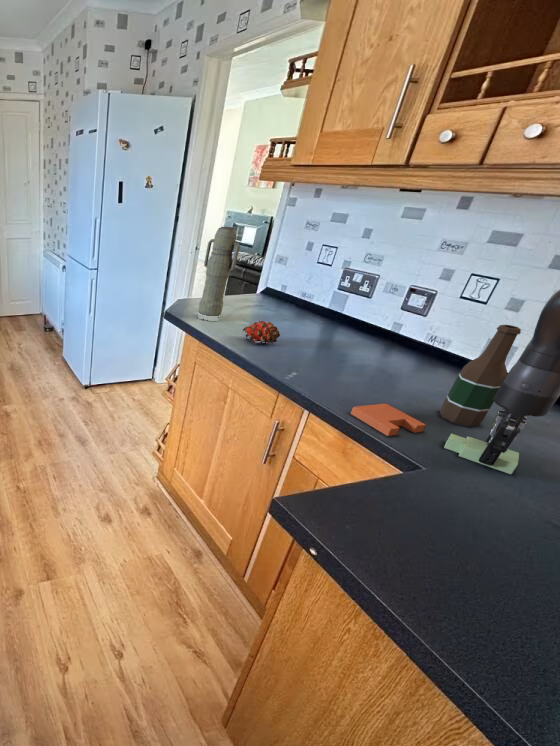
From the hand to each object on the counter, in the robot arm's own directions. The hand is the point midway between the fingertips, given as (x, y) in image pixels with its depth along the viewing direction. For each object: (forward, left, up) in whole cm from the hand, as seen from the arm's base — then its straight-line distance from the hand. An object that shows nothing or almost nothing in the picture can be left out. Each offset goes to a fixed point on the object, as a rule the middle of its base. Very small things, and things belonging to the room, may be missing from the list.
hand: (486, 456), depth 87 cm
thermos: (+6, -96, -1) cm, 96 cm away
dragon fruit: (+4, -68, -1) cm, 68 cm away
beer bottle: (-12, -14, -1) cm, 18 cm away
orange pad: (+8, -16, -1) cm, 18 cm away
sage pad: (+1, -1, -1) cm, 1 cm away
